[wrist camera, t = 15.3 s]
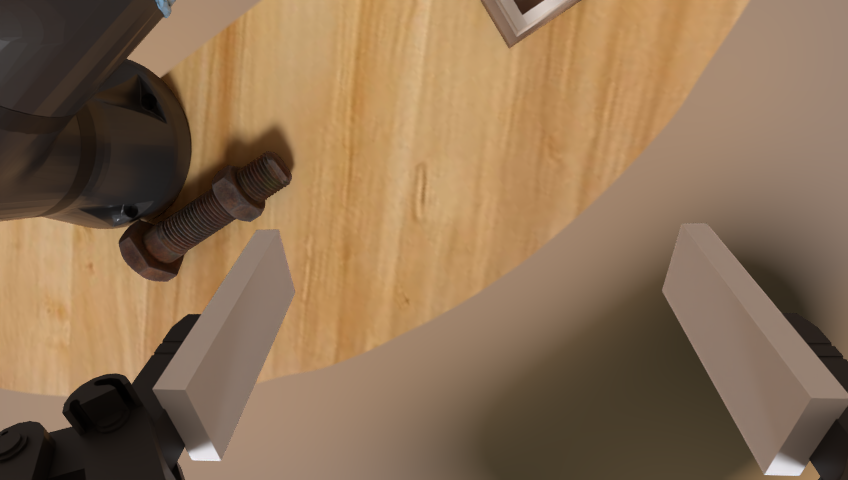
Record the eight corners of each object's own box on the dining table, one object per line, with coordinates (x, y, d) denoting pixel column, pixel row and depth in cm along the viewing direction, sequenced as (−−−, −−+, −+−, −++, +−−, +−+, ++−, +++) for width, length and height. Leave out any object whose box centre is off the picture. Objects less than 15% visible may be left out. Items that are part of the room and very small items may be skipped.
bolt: (302, 172, 43) (175, 255, 46) (264, 129, 41) (131, 219, 43) (300, 203, 39) (159, 294, 41) (257, 156, 36) (108, 256, 38)
